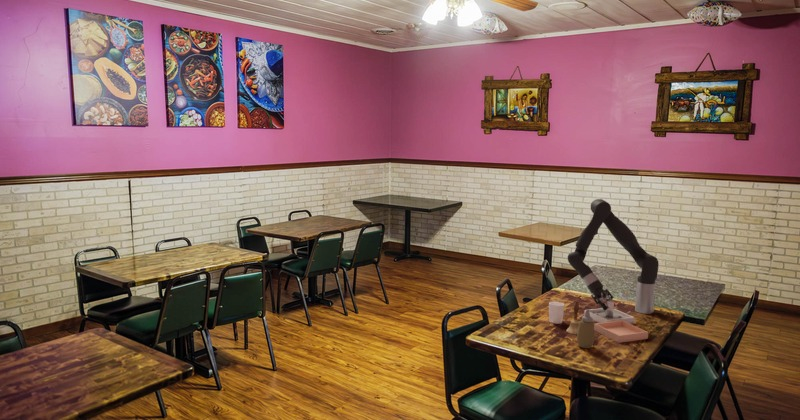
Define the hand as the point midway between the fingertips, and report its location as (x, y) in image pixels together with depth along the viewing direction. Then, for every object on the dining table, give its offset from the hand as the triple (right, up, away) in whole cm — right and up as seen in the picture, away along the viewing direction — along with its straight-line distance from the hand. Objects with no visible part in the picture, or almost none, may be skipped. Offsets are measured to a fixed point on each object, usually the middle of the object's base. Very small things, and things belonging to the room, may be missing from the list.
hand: (610, 308), depth 304 cm
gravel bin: (-1, -7, +1) cm, 7 cm away
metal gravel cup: (0, -5, +1) cm, 5 cm away
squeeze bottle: (-26, -12, -38) cm, 48 cm away
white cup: (-31, -7, -4) cm, 32 cm away
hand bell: (-25, -9, -18) cm, 32 cm away
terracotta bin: (-3, -10, -21) cm, 23 cm away
